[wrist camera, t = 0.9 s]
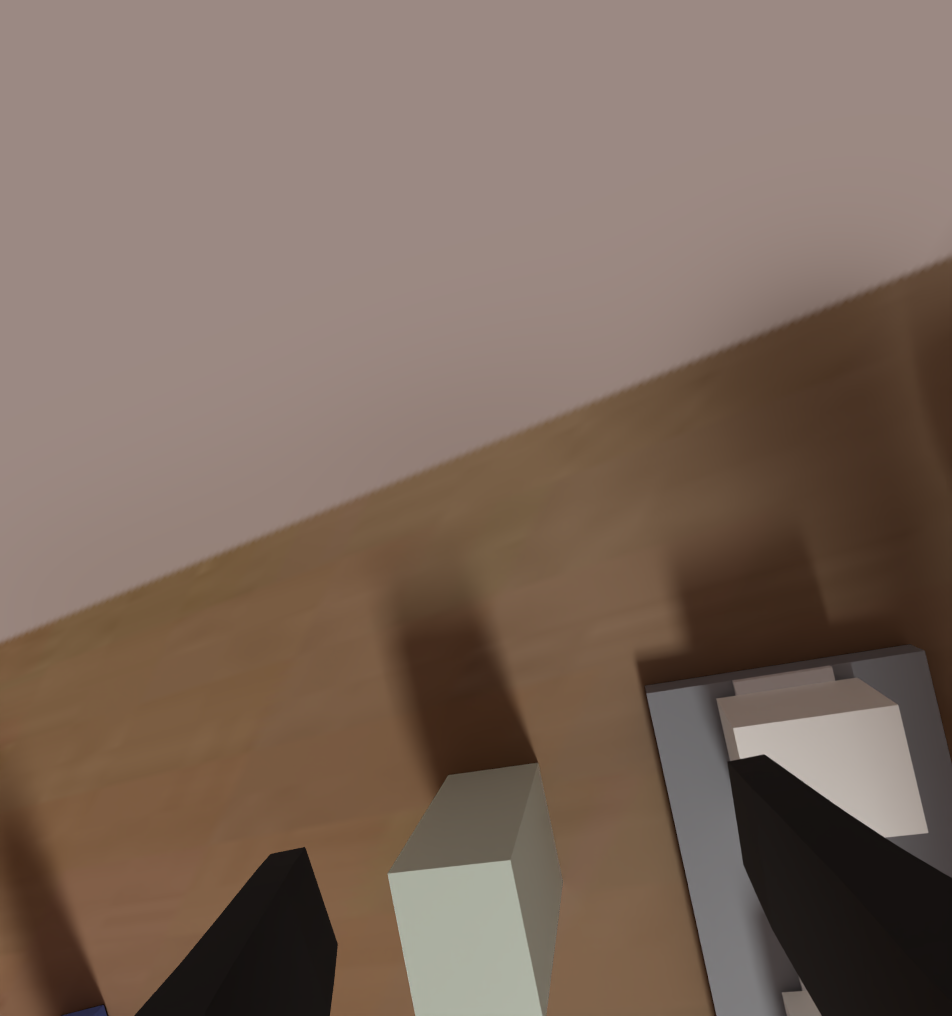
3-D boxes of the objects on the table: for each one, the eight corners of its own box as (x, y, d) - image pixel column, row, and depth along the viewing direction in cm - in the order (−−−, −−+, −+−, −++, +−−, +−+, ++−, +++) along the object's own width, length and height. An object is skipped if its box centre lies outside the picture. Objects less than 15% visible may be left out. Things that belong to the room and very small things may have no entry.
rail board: (1011, 1073, 24) (1113, 1214, 19) (731, 1084, 26) (759, 1215, 21) (910, 644, 25) (982, 676, 20) (644, 685, 27) (652, 724, 22)
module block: (562, 881, 28) (544, 1027, 20) (471, 891, 28) (419, 1034, 21) (538, 762, 28) (510, 860, 20) (448, 775, 29) (387, 873, 21)
